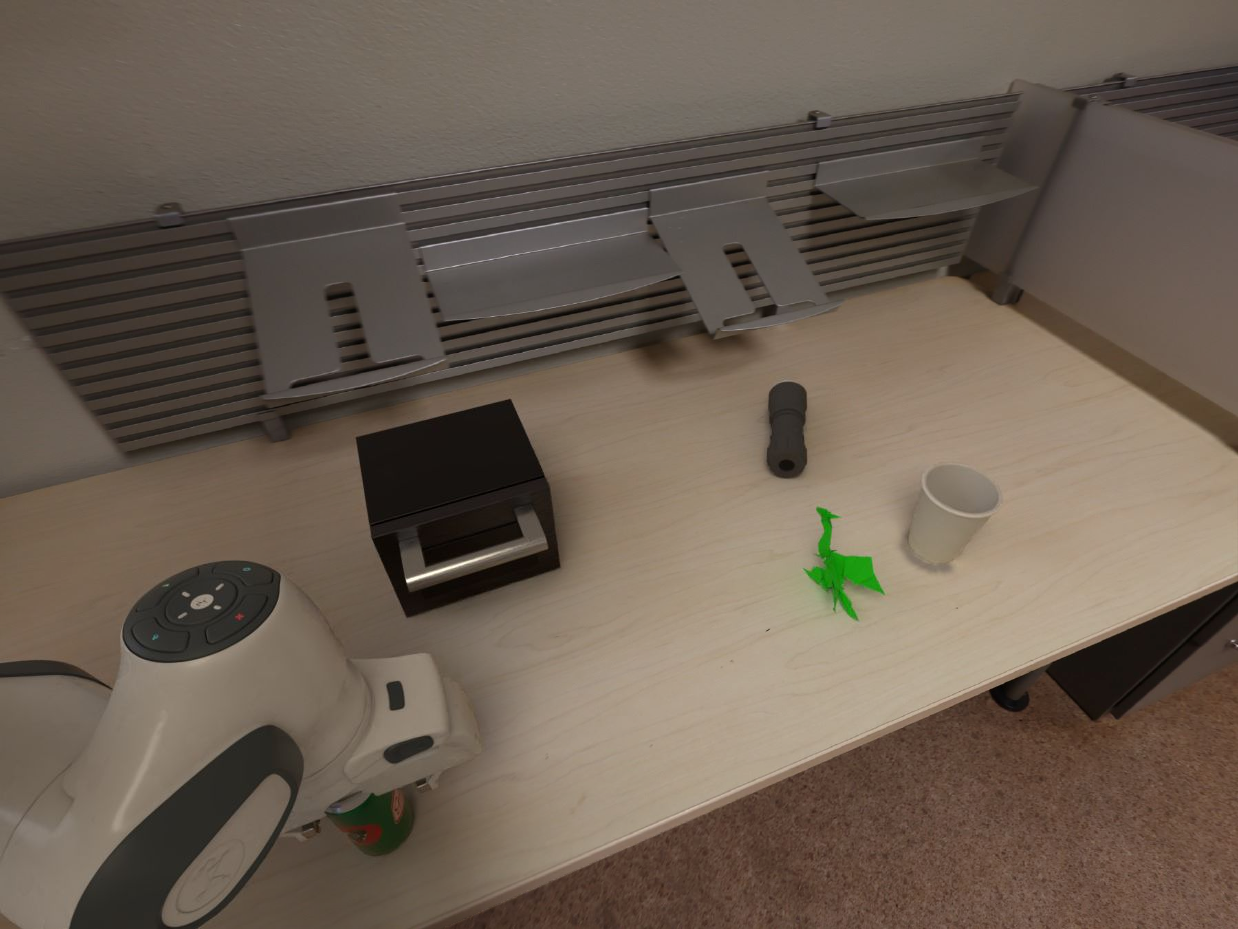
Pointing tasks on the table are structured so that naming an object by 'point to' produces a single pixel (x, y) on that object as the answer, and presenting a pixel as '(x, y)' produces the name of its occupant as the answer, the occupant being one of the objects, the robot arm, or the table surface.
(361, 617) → the table surface
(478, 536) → the oven door
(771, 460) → the flashlight
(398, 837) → the soda can
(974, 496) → the dixie cup
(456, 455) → the oven
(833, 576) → the figurine
